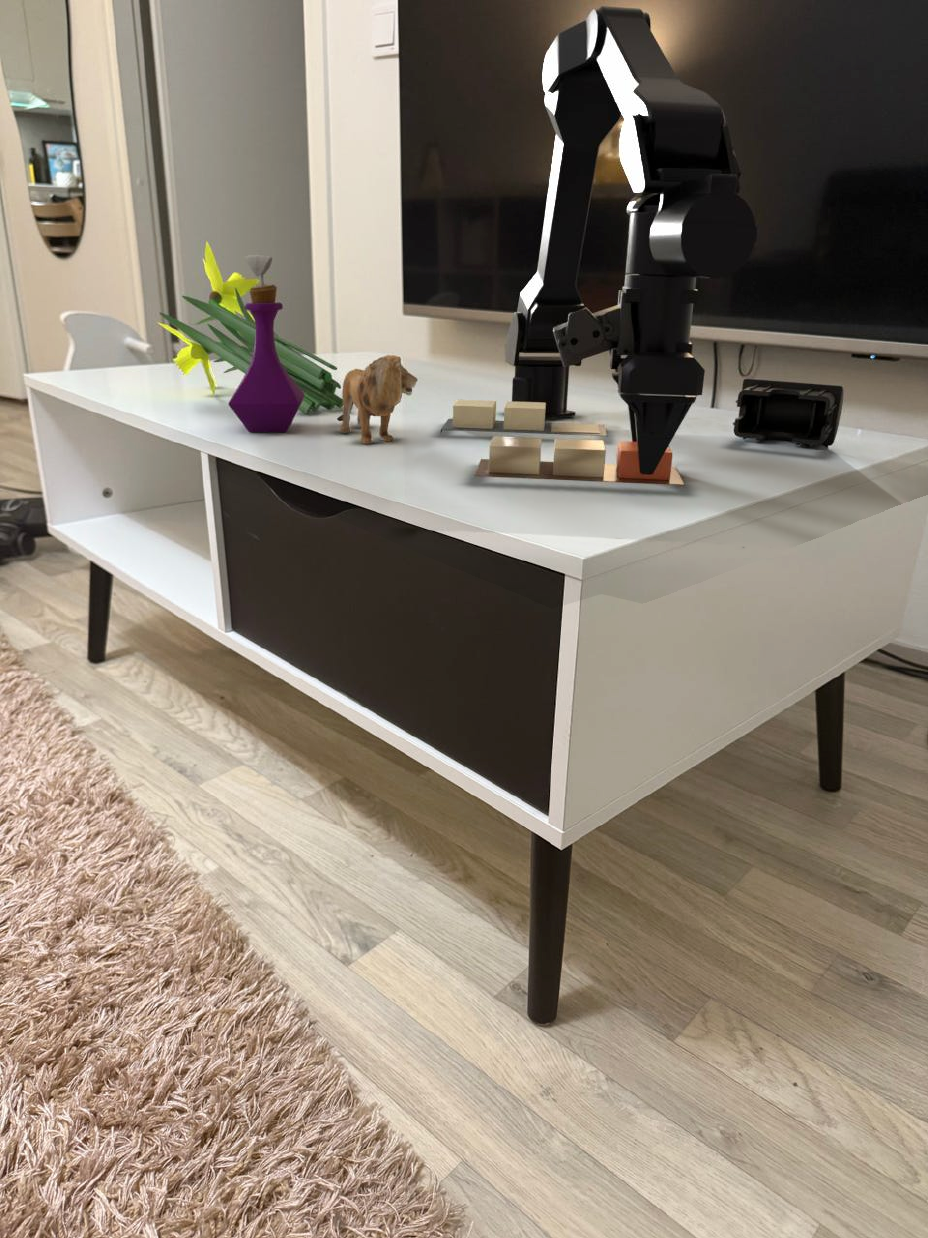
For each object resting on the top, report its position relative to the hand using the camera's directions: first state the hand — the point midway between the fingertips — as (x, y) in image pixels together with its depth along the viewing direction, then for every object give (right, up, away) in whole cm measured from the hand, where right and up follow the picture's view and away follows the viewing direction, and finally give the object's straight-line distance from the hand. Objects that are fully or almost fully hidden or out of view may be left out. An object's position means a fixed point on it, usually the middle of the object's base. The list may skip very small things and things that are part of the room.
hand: (642, 464), depth 80 cm
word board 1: (-9, +7, +21) cm, 24 cm away
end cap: (+18, +4, +17) cm, 25 cm away
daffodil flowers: (-43, +16, +42) cm, 63 cm away
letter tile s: (0, -1, 0) cm, 1 cm away
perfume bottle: (-37, +7, +21) cm, 44 cm away
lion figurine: (-26, +6, +18) cm, 32 cm away
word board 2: (-6, -1, +1) cm, 6 cm away
